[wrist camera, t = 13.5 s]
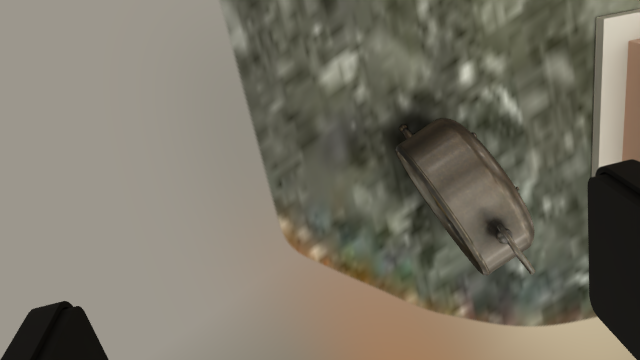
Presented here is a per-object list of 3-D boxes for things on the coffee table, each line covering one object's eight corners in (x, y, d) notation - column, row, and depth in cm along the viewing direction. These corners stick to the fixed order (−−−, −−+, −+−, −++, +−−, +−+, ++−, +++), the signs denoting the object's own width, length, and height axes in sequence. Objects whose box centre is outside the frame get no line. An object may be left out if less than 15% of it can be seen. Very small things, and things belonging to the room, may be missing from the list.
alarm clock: (376, 125, 43) (440, 219, 28) (435, 86, 42) (533, 161, 28) (441, 225, 47) (526, 353, 32) (496, 191, 47) (609, 306, 32)
